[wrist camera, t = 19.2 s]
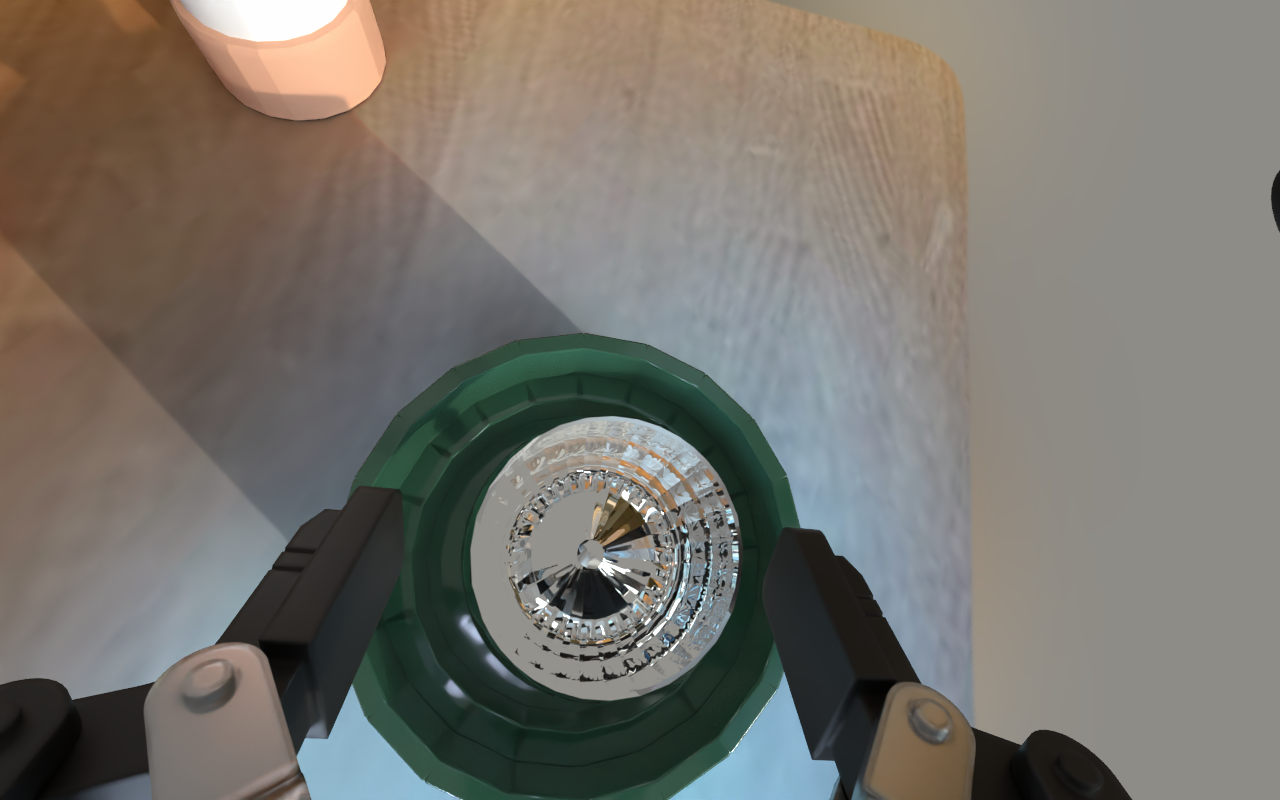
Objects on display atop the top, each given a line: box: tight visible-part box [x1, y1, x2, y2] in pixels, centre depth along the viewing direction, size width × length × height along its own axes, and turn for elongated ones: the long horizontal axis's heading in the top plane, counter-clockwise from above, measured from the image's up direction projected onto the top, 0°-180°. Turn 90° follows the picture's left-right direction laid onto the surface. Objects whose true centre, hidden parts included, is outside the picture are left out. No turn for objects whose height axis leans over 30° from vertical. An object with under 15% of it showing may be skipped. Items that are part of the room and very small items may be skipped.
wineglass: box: [460, 416, 743, 704], centre depth 15 cm, size 6×6×12 cm
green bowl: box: [347, 333, 800, 800], centre depth 19 cm, size 14×14×6 cm
